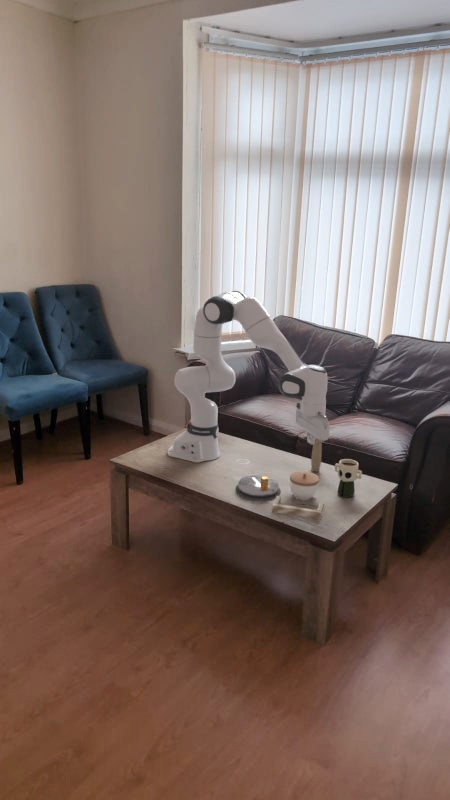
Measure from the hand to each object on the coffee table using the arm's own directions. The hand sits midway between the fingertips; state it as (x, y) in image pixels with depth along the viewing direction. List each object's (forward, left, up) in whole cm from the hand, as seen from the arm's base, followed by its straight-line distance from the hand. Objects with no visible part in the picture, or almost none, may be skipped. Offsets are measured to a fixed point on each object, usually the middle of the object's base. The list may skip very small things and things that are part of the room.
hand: (310, 443), depth 234 cm
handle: (+1, +14, -17) cm, 22 cm away
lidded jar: (0, -11, -17) cm, 20 cm away
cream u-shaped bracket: (0, -23, -17) cm, 28 cm away
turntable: (-17, -12, -17) cm, 27 cm away
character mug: (+15, -4, -17) cm, 23 cm away
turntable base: (-17, -12, -17) cm, 27 cm away
